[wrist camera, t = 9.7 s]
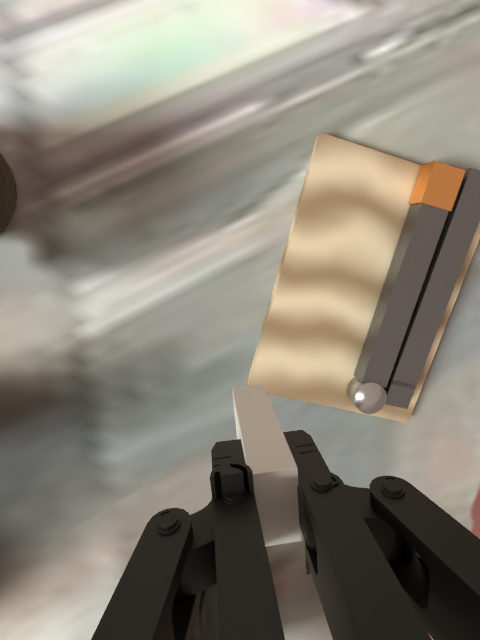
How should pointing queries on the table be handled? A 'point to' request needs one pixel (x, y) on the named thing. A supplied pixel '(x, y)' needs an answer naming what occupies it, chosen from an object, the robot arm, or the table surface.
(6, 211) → the beer stein
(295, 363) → the serving board
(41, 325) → the table surface
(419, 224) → the bar
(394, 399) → the bar
